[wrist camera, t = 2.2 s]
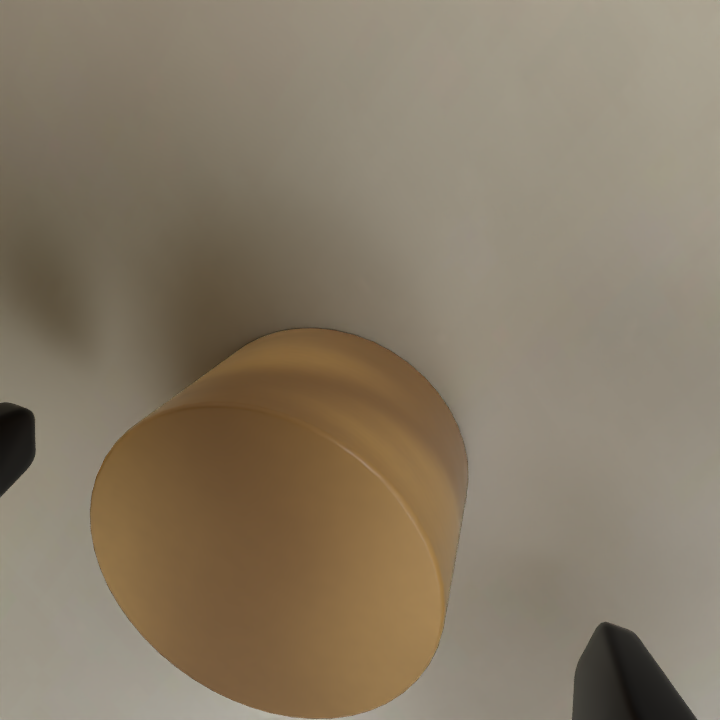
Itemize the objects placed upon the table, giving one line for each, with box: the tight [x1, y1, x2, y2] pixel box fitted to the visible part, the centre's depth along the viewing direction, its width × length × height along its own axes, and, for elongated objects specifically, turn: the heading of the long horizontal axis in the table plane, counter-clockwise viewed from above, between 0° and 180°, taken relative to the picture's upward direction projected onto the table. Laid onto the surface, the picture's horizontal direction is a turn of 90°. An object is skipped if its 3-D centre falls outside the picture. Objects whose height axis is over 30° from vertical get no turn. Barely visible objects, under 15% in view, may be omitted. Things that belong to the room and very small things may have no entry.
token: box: [90, 328, 468, 719], centre depth 9 cm, size 5×5×3 cm
